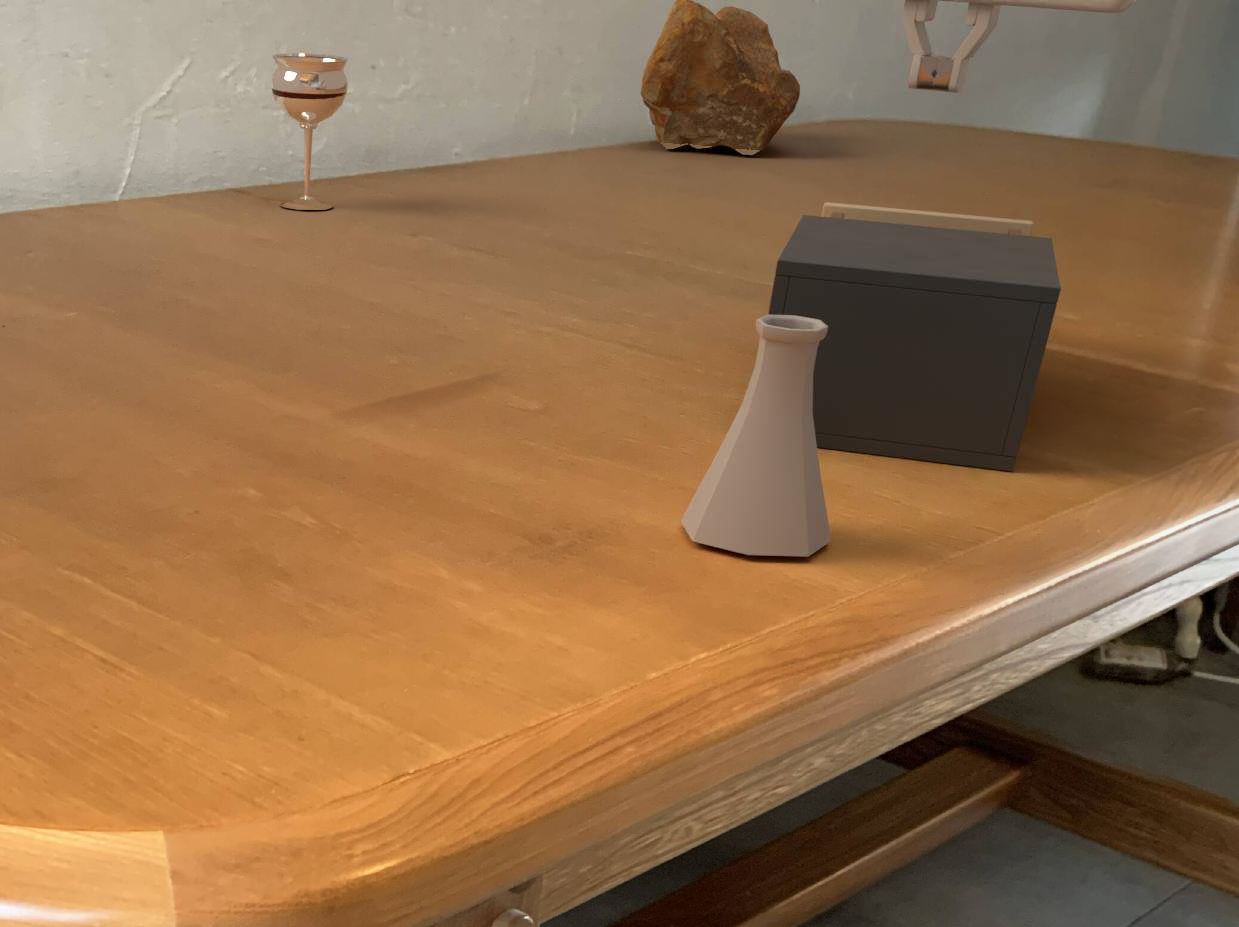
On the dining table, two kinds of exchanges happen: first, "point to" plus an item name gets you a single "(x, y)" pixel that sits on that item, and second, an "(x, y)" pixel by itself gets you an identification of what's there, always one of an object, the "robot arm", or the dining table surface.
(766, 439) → the flask
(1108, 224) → the dining table surface
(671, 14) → the rough brown rock
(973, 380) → the cabinet
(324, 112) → the wineglass
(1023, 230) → the drawer
